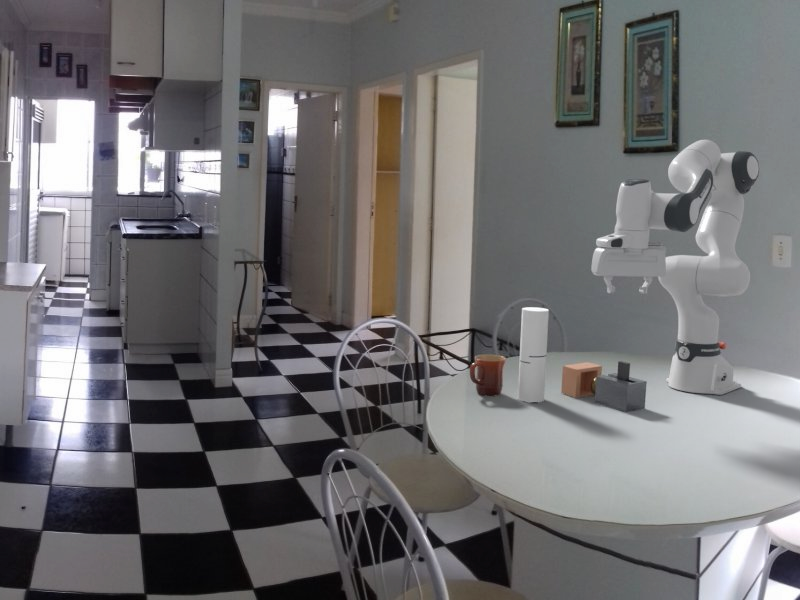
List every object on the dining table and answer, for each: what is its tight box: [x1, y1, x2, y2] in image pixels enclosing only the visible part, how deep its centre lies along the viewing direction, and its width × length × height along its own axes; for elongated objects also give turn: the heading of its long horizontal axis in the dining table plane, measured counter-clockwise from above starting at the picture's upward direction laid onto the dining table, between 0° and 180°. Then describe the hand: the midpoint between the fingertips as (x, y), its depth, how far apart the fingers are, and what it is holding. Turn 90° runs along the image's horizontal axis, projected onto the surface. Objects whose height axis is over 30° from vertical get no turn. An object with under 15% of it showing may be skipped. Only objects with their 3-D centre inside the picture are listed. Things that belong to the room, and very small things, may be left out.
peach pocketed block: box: [560, 361, 603, 399], centre depth 227 cm, size 10×5×8 cm, turn 124°
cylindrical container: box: [517, 306, 550, 403], centre depth 218 cm, size 7×7×25 cm
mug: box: [469, 354, 507, 397], centre depth 223 cm, size 12×9×10 cm
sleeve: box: [594, 372, 647, 413], centre depth 215 cm, size 7×11×7 cm
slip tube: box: [590, 360, 631, 395], centre depth 217 cm, size 5×12×11 cm, turn 34°
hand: (627, 293), depth 213 cm, fingers open, 8 cm apart
